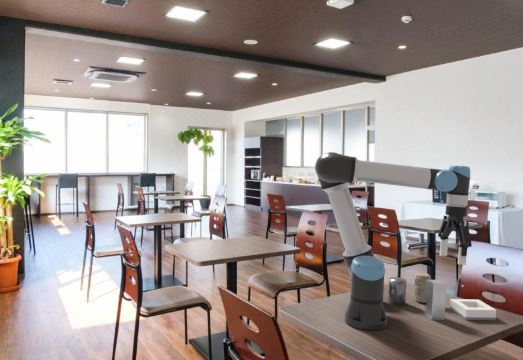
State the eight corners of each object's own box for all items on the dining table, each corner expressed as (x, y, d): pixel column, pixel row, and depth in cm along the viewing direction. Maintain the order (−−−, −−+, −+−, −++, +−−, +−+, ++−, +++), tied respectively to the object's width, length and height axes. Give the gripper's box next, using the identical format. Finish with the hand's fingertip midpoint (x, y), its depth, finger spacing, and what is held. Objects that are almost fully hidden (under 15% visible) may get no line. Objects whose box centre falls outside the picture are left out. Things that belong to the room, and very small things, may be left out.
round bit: (391, 305, 173) (392, 281, 172) (385, 299, 180) (386, 277, 179) (407, 305, 173) (409, 282, 173) (401, 300, 180) (402, 277, 180)
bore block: (465, 319, 159) (465, 309, 159) (449, 308, 171) (450, 299, 171) (495, 320, 160) (496, 310, 160) (478, 309, 172) (478, 299, 172)
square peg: (431, 319, 158) (433, 283, 158) (425, 314, 163) (427, 279, 163) (444, 320, 159) (446, 283, 158) (438, 315, 164) (440, 279, 163)
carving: (418, 298, 184) (420, 271, 183) (434, 303, 178) (436, 275, 177) (410, 300, 180) (411, 273, 180) (425, 305, 174) (427, 277, 174)
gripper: (485, 210, 149) (480, 268, 150) (449, 202, 174) (445, 253, 175) (465, 209, 148) (460, 267, 149) (431, 201, 173) (427, 252, 174)
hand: (452, 260), depth 162 cm, fingers open, 13 cm apart
